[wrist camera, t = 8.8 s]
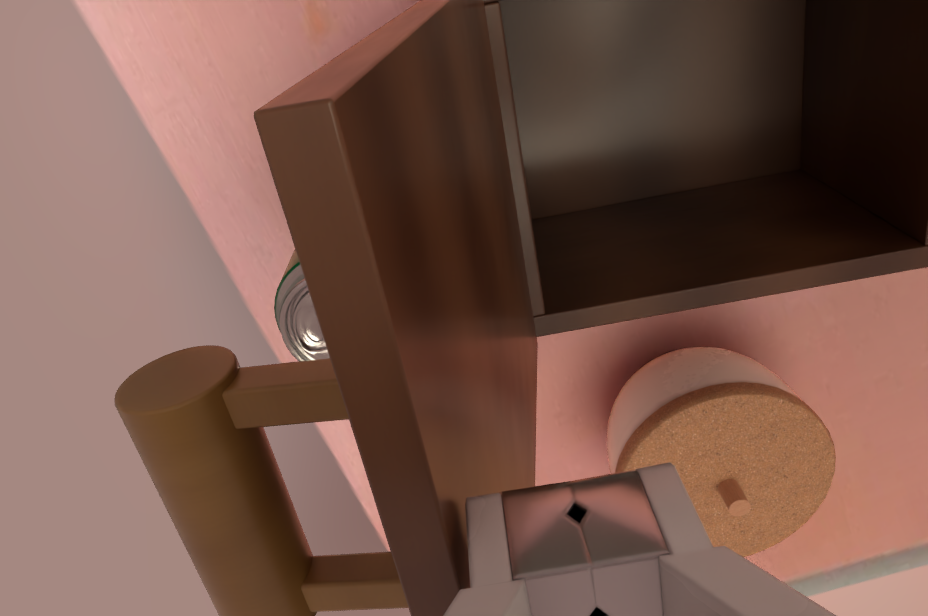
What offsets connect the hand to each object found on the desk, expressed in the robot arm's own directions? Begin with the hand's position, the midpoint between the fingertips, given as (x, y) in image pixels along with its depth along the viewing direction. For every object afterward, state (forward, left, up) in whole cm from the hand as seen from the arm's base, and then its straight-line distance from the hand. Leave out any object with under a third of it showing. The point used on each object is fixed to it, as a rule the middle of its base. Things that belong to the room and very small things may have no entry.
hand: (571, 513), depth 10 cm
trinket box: (-16, +12, -27) cm, 34 cm away
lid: (0, 0, -7) cm, 7 cm away
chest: (-7, -4, -27) cm, 28 cm away
